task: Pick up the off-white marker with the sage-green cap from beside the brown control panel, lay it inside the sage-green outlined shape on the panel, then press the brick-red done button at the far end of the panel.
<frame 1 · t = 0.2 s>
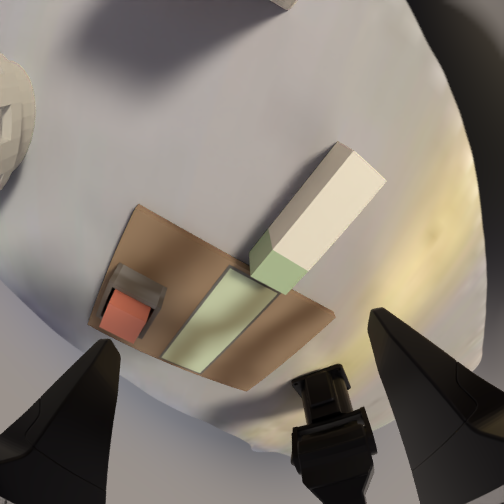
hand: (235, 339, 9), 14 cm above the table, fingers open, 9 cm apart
brown control panel: (203, 320, 27), on the table
marker: (307, 210, 22), on the table
done button: (125, 314, 22), point 4 cm above the table, slide at 0.0 cm
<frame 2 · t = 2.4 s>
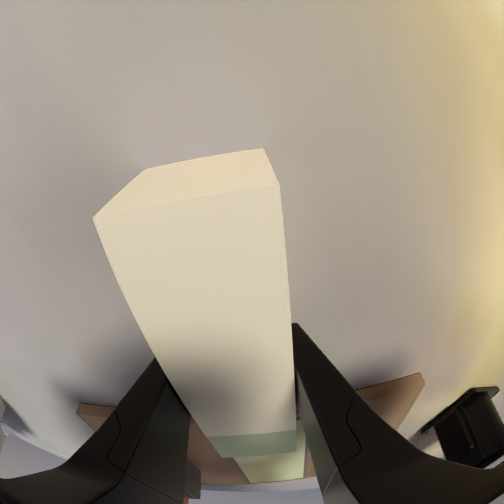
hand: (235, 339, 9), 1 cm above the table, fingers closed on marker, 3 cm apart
brown control panel: (256, 452, 17), on the table
marker: (235, 317, 10), on the table, touching gripper
done button: (160, 493, 14), point 4 cm above the table, slide at 0.0 cm
when the fingers open (3 cm above the table, at t = 6.1 s): marker stays where it is, resting on brown control panel.
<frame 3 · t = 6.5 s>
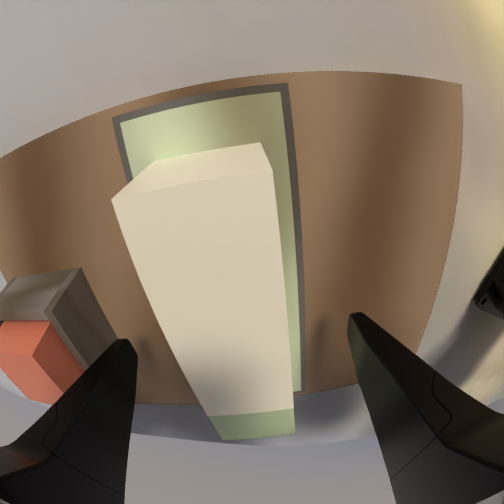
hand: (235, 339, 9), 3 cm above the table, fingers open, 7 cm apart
brown control panel: (210, 289, 12), on the table
marker: (236, 300, 11), point 1 cm above the table, touching brown control panel
done button: (40, 359, 9), point 4 cm above the table, slide at 0.0 cm
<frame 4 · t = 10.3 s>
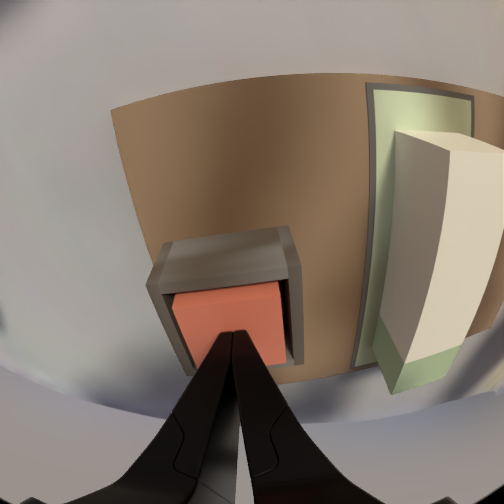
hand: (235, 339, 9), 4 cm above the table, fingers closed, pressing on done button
brown control panel: (390, 251, 12), on the table
marker: (418, 257, 11), point 1 cm above the table, touching brown control panel
done button: (234, 314, 10), point 3 cm above the table, slide at 1.1 cm, touching gripper
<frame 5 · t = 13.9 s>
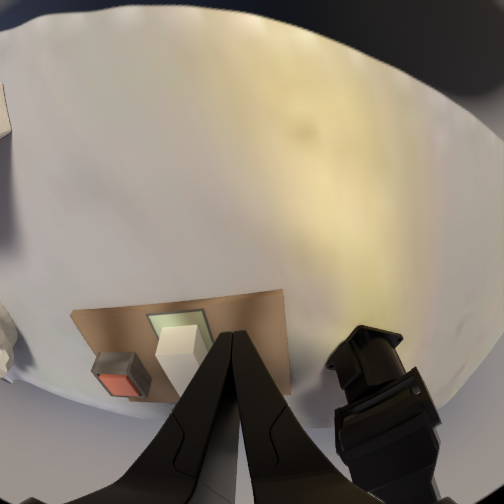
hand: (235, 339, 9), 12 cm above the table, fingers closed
brown control panel: (187, 358, 27), on the table
marker: (196, 364, 27), point 1 cm above the table, touching brown control panel
done button: (121, 378, 26), point 2 cm above the table, slide at 1.2 cm
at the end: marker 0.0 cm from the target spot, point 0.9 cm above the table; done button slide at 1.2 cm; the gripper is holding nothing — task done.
